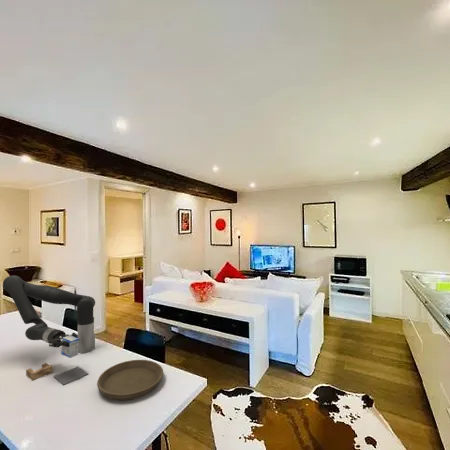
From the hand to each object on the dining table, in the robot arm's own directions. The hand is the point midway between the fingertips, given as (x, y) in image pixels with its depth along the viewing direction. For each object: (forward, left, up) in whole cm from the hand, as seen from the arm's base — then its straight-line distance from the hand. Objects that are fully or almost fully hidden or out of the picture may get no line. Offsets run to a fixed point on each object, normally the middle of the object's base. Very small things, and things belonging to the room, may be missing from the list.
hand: (73, 343), depth 135 cm
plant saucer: (-15, +29, -18) cm, 37 cm away
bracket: (+9, -18, -18) cm, 27 cm away
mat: (0, -2, -18) cm, 18 cm away
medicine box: (+1, -3, -7) cm, 7 cm away
